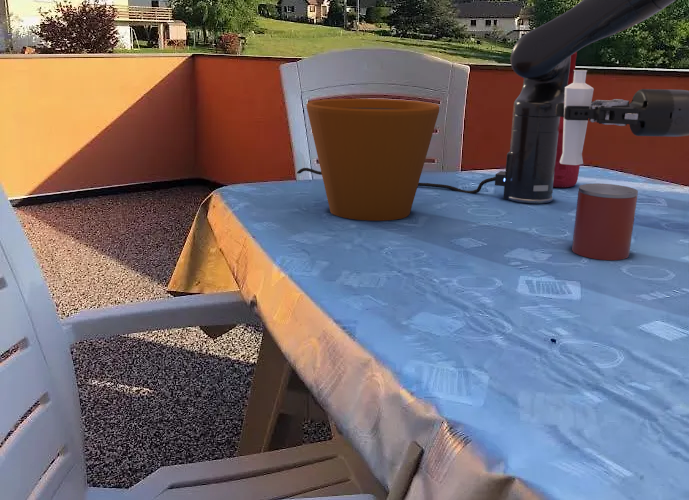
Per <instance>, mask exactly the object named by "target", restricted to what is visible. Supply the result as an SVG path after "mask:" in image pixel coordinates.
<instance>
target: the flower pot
mask: <svg viewBox="0 0 689 500" xmlns="http://www.w3.org/2000/svg"><path fill="white" fill-rule="evenodd" d="M306 111H307V116H308V120H309V124H310V125H309V126H310V129H311V134H312V137H313V142H314V147H315V151H316V155H317V159H318V164H319V168H320V172H321V173H322V175H321V176H322V182H323V185H324V191H325V194H326V199H327V203H328V208H329V212H330V213H331V215H333V216H337V217H339V218H344V219H350V220H356V221H368V222H369V221H370V222H371V221H373V222H374V221H376V222H377V221H379V222H381V221H382V222H383V221H393V220H395V221H396V220H400V219H401V220H402V219H405V218H407V217H409V216H410V214H411V211H412V207H413V204H414V201H415V196H416V193H417V190H418V187H419V186H418V183H420V179H421V176H422V173H423V169H424V165H425V162H426V159H427V155H428V152H429V148H430V145H431V141H432V137H433V134H434V131H435V127H436V124H437V120H438V117H439V113H440V105H438V104H437V103H434V102H433V103H432V102H427V101H421V100H408V99H394V98H393V99H390V98H327V99H314V100H310V101H308V102H307V103H306Z"/></svg>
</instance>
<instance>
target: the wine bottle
mask: <svg viewBox="0 0 689 500" xmlns="http://www.w3.org/2000/svg"><path fill="white" fill-rule="evenodd" d="M577 57H578V51H577V52H575V53H574V54H572V55H571V62H570V71H569V78H568V85H570V84H572V83H573V80H574V70H576V63H577V62H576V61H577ZM568 85H567V86H568ZM563 125H564V117H560V124H559V134H558V144H557V153H556V163H555V173H554V182H553V188H560V189H562V188H565V189H566V188H571V187H574V186H576V185H577V183H578V179H579V175H580V174H579V173H580V166H581V164H580V165H567V164H560V159H561V156H562V153H563Z"/></svg>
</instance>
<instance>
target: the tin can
mask: <svg viewBox="0 0 689 500" xmlns="http://www.w3.org/2000/svg"><path fill="white" fill-rule="evenodd" d="M577 191H578V192H577V199H576V209H575V218H574V226H573V237H572V245H571V251H572V252H573V253H574V254H576V255H578V256H581V257H584V258H588V259H592V260H600V261H619V260H620V261H621V260H626V259H628V258H629V257H630V253H631V246H632V238H633V230H634V224H635V216H636V208H637V202H638V194H639V190H637V189H635V188H634V187H630V186H625V185H620V184H612V183H584V184H580V185H579V186H578V190H577Z"/></svg>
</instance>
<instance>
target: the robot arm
mask: <svg viewBox="0 0 689 500" xmlns="http://www.w3.org/2000/svg"><path fill="white" fill-rule="evenodd" d="M675 2H676V0H581V1H580V2H579V3H577V4H576V5H574V6H572V8H570V9H568V10H567V11H565V12H564V13H562V14H560V15H558V16H557V17H555V18H553V19H551V20H550V21H548V22H546V23H544V24H542V25H540V26H538V27H536V28H535V29H532V30H529V31H528V32H527V33H525V34H523V35H522V36H521V37H520V38H519V39H518V40H517V41H516V42H515V44H514V46H513V48H512V50H511V53H510V59H509V60H510V66H511V69H512V70H513V72H514V73H515V74H516V75H517V76H519V77H520V78H522V79H523V83H522V87H521V91H520V93H519V94H518V96H517V98H516V99H515V100H514V102H513V107H512V121H511V131H510V132H511V134H510V143H509V144H510V145H509V151H508V152H507V153H506V159H505V160H506V161H505V170H499V172H497V173H495V176H493V177H489V178H485V179H483V180H482V181H480V182H479V184H478V186H477V187H476V189H472V190H466V189H461V188H458V187H455V186H452V185H449V184H441V183H430V182H419V183H418V187H427V188H439V189H447V190H451V191H454V192H459V193H466V194H471V195H472V194H474V195H475V194H479V192H481V190H482V189H483V188H482V187H483V186H484V185H486V184H487V183H491V182H494V186H495V187H496V186H498V187H503V195H502V196H503V197H502V199H503V200H508V201H512V202H516V203H522V204H547V203H551V202H552V201H553V193H554V187H553V182H554V173H555V163H556V153H557V144H558V134H559V124H560V117H564V118H565V119H566V120H588V122H590V123H596V124H599V125H606V126H609V125H610V126H612V125H615V126H620V127H626V126H627V125H629V129H630V131H631V133H632V135H634V136H637V137H670V138H671V137H672V138H673V137H674V138H676V137H677V138H679V137H688V136H689V90H688V89H663V88H661V89H660V88H658V89H657V88H656V89H655V88H641V89H639V90H637V91H636V92H635V93H634V95H633V96H632V100H624V99H622V98H621V99H620V98H614V99H610V100H608V99H607V100H606V99H595V100H594V101H592V102H591V107H590V106H566V107H565V112H564V97H565V87H566V86H567V85H568V78H569V71H570V62H571V55H572V54H574V53H575V52H577V53H578V51H580V50H582V49H583V48H585V47H587V46H589V45H591V44H593V43H595V42H597V41H600V40H603V39H605V38H608V37H610V36H611V37H612V36H613V35H616V34H619V33H621V32H623V31H625V30H627V29H630V28H632V27H634V26H636V25H638V24H640V23H642V22H644V21H646V20H648V19H649V18H651V17H652V16H654V15H656V14H657V13H659V12H660V11H662V10H663V9H666V8H667V7H668V6H670V5H671V4H672V3H675ZM303 172H309V173H312V174H315V175H320V176H322V173H321V170H320V171H319V170H315V169H313V168H310V167H302V168H300V169H299V170H297V172H296V174H297V175H298V174H302V173H303Z"/></svg>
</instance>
